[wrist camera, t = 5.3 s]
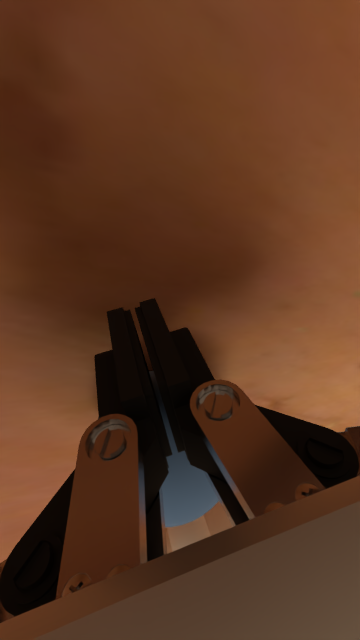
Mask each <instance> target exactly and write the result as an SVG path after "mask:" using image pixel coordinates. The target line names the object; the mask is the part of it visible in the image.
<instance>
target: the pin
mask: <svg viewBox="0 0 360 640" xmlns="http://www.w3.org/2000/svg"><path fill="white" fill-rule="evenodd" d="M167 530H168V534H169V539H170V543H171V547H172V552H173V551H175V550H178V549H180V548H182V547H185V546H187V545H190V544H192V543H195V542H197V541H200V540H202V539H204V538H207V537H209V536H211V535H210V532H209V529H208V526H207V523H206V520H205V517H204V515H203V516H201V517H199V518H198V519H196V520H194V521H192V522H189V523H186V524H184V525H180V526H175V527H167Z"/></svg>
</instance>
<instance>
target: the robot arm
mask: <svg viewBox="0 0 360 640" xmlns="http://www.w3.org/2000/svg"><path fill="white" fill-rule="evenodd" d="M135 311H136V314H137V318H138V321H139V324H140V328H141V331H142V334H143V338H144V341H145V344H146V348H147V351H148V354H149V358H150V361H151V364H152V368H153V371H154V374H155V378H156V381H157V384H158V388H159V391H160V394H161V398H162V401H163V404H164V408H165V411H166V414H167V418H168V421H169V424H170V427H171V431H172V434H173V437H174V441H175V444H176V447H177V451H178V453H179V452H182V451H184V450H185V453H186V456H187V459H188V461H189V463H190V465H192V466H194V467H196V468H198V469H201V470H203V471H204V473H205V476H206V478H207V479H208V481H209V483H210V485H211V487H212V489H213V491H214V493H215V494H216V496H217V498H218V500H219V502H220V504H221V506H222V508H223V509H224V511H225V513H226V515H227V517H228V519H229V521H230V522H231V524H232V526H233V527H231V528H229V529H226V530H224V531H222V532H219V533H217V534H214V535H212V536H209V537H207V538H204V539H202V540H200V541H197V542H195V543H192V544H190V545H187V546H185V547H182V548H180V549H178V550H175V551H173V552H170V553H168V554H167V542H166V529H165V517H164V505H163V492H162V488H161V486H162V484H163V482H164V481H165V479H166V477H167V475H168V473H169V471H168V468H169V466H168V462H167V458H166V457H168V456H171V455H173V454H172V451H171V447H170V443H169V440H168V436H167V433H166V429H165V426H164V422H163V419H162V415H161V412H160V408H159V405H158V401H157V398H156V394H155V391H154V387H153V384H152V380H151V377H150V373H149V370H148V366H147V363H146V360H145V357H144V354H143V350H142V347H141V344H140V341H139V337H138V334H137V331H136V328H135V325H134V321H133V318H132V315H131V312H130V310H126V311H124V310H123V307H122V308H118V309H115V310H111V311H108V312H107V317H108V323H109V330H110V336H111V342H112V349H113V350H110V351H106V352H103V353H100V354H97V355H95V371H96V385H97V398H98V411H99V419H98V420H96V421H95V422H93V423H92V424H91V425H90V426H89V427H88V428H87V429H86V431H85V432H84V434H83V435H82V437H81V440H80V444H79V448H78V455H77V461H76V468H75V470H74V471H73V472H72V474H71V475H70V476H69V477H68V479H67V480H66V481H65V483H64V484H63V485H62V486H61V488H60V489H59V490H58V492H57V493H56V494H55V496H54V497H53V498H52V499H51V501H50V502H49V503H48V505H47V506H46V507H45V508H44V510H43V511H42V512H41V514H40V515H39V516H38V517H37V519H36V520H35V521H34V523H33V524H32V525H31V527H30V528H29V529H28V530H27V532H26V533H25V534H24V536H23V537H22V538H21V539H20V541H19V542H18V543H17V545H16V546H15V547H14V549H13V550H12V552H11V554H10V555H9V557H8V558H7V559H6V560H5V561H3V562H2V563H0V640H360V426H357V427H348V428H346V430H345V432H335V431H333V430H331V429H328V428H325V427H322V426H319V425H316V424H313V423H310V422H307V421H304V420H301V419H298V418H294V417H291V416H288V415H285V414H282V413H279V412H276V411H273V410H270V409H266V408H263V407H260V406H257V405H254V404H253V402H252V401H251V400H250V399H249V398H248V397H247V395H246V394H245V393H244V392H243V391H242V389H240V388H239V387H238V386H237V385H236V384H234V383H231V382H229V381H225V380H215V379H214V377H213V375H212V373H211V372H210V370H209V368H208V366H207V364H206V362H205V360H204V358H203V356H202V354H201V352H200V351H199V349H198V347H197V345H196V343H195V341H194V339H193V337H192V335H191V333H190V331H189V330H188V328H187V327H185V328H182V329H179V330H176V331H172V332H169V330H168V328H167V325H166V323H165V321H164V318H163V316H162V314H161V311H160V309H159V307H158V304H157V302H156V300H155V298H153V299H150V300H146V301H143V302H140V307H137V308H135Z"/></svg>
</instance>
